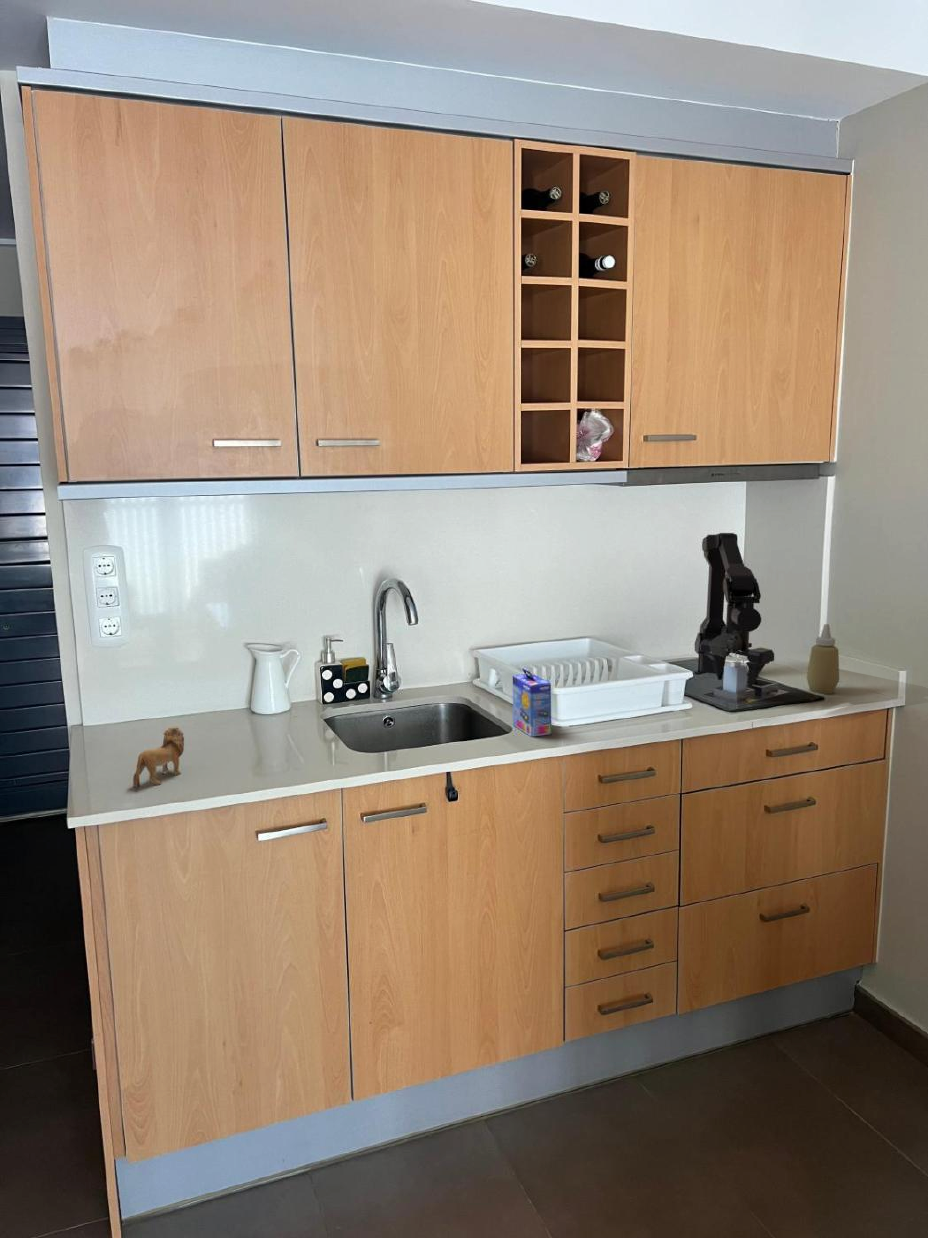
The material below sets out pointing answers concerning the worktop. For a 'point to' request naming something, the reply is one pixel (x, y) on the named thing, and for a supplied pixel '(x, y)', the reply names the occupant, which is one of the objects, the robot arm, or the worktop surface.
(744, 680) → the plug
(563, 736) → the worktop surface
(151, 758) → the lion figurine
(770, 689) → the panel
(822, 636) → the squeeze bottle
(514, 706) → the ink cartridge box
